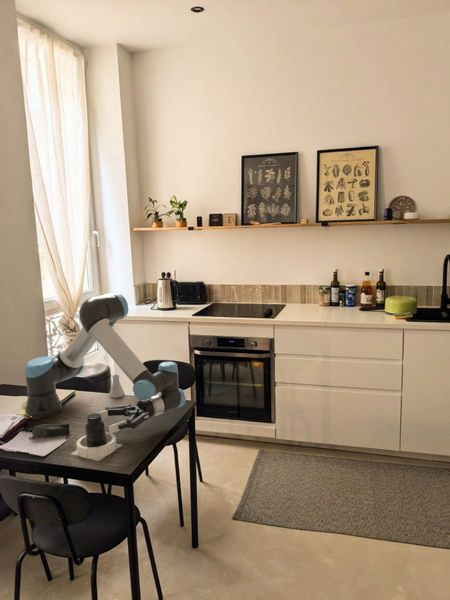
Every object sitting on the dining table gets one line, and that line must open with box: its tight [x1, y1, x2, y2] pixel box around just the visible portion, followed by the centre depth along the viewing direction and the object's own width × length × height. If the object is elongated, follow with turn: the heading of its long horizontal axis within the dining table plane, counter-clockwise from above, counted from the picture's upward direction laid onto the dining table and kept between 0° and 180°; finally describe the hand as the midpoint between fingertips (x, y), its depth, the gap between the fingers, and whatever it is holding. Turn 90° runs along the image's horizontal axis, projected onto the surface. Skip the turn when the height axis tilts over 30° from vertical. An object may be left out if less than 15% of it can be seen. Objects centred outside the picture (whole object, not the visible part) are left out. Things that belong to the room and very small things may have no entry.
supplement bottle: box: [84, 412, 107, 448], centre depth 169 cm, size 7×7×12 cm
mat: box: [70, 442, 123, 462], centre depth 170 cm, size 13×13×1 cm
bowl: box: [75, 431, 117, 460], centre depth 170 cm, size 13×13×4 cm
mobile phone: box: [28, 423, 70, 440], centre depth 183 cm, size 5×3×15 cm
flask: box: [108, 374, 126, 399], centre depth 224 cm, size 7×7×10 cm
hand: (100, 424), depth 170 cm, fingers open, 13 cm apart
